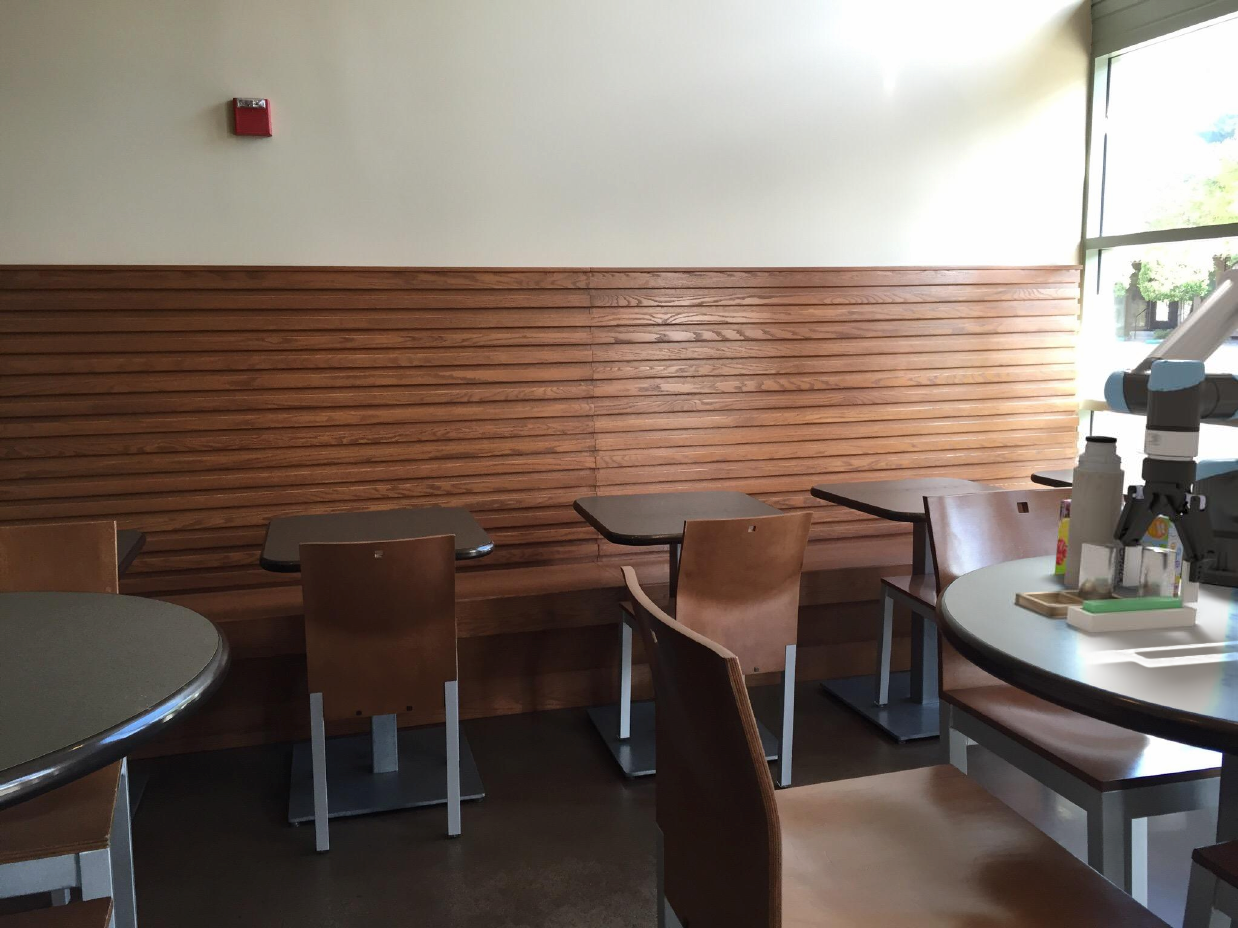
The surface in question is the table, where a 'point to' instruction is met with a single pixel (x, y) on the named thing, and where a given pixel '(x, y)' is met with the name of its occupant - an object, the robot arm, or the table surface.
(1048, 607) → the wooden divided tray
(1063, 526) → the snack box
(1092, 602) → the green rectangular bar
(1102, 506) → the thermos bottle
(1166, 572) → the billet
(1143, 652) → the table surface
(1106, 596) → the cylinder
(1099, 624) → the housing
